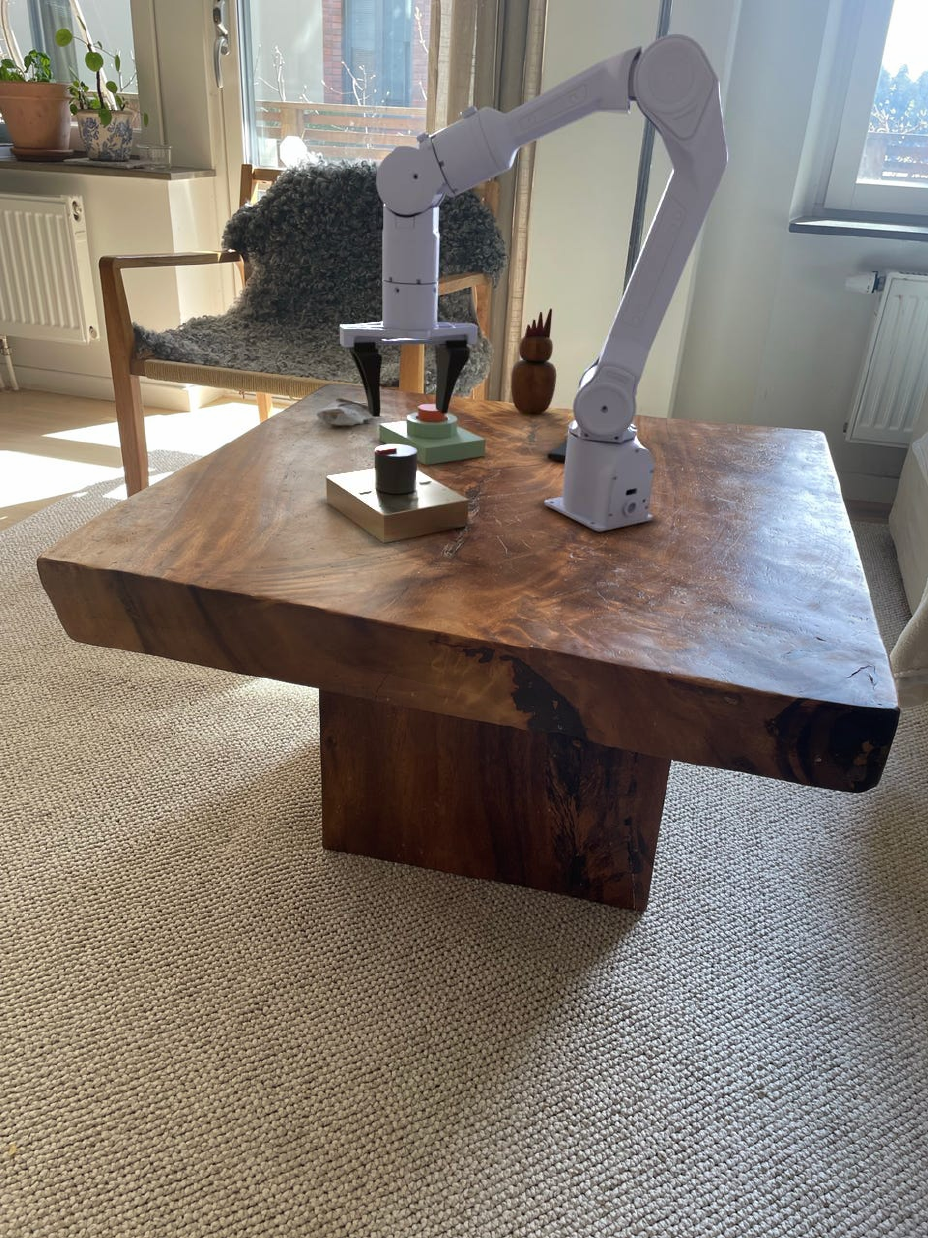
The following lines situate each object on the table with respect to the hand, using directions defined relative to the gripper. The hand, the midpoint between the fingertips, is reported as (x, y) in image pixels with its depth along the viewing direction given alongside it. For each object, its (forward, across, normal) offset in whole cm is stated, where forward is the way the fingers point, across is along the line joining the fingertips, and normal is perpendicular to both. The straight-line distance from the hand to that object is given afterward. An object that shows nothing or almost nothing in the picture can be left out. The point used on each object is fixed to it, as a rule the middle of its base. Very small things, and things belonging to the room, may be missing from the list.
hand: (408, 412), depth 97 cm
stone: (+9, 0, +30) cm, 32 cm away
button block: (+9, +8, +16) cm, 20 cm away
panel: (+9, -3, -6) cm, 12 cm away
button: (+6, +8, +16) cm, 19 cm away
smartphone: (+9, +29, +10) cm, 32 cm away
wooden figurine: (+9, +29, +31) cm, 43 cm away
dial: (+6, -3, -6) cm, 9 cm away
